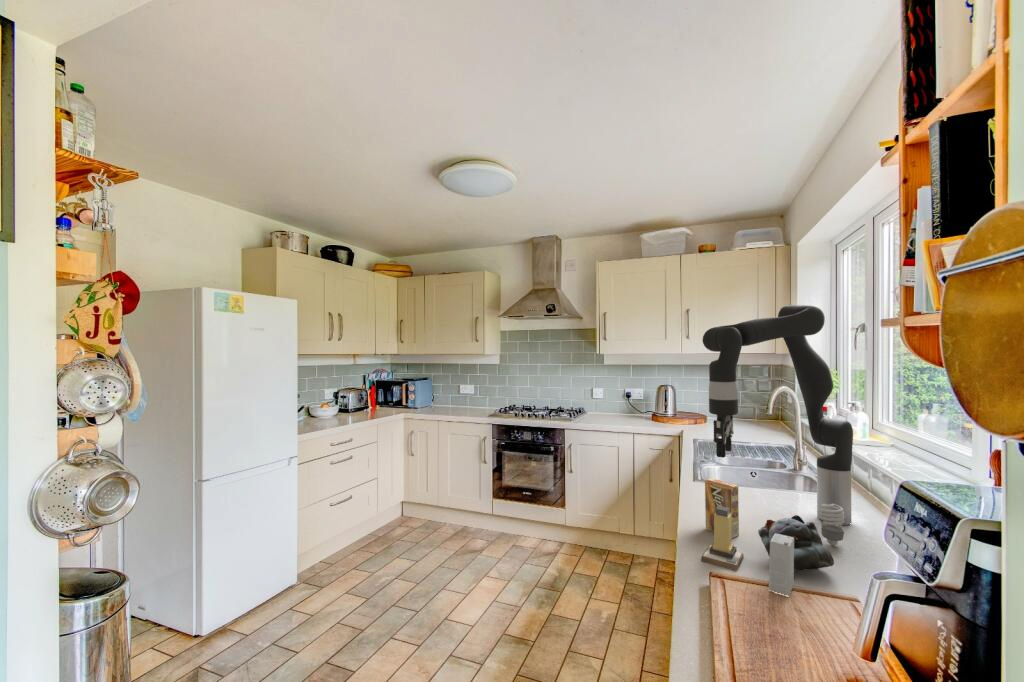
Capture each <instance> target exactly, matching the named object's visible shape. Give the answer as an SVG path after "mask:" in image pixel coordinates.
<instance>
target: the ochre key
mask: <svg viewBox="0 0 1024 682" xmlns="http://www.w3.org/2000/svg"><path fill="white" fill-rule="evenodd" d="M712 545H713V549H714V550H718V551H722V552H726V553H729V554H732V552H733V550H734V547H735V545H734V544H733V543H731V547H730V548H729V550H728V549H724V548H720V547H716V546H714V544H713V543H712Z"/></svg>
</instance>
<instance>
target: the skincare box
mask: <svg viewBox="0 0 1024 682" xmlns="http://www.w3.org/2000/svg"><path fill="white" fill-rule="evenodd" d="M768 557H769V558H768V559H769V562H768V563H769V565H768V566H769V567H768V569H769V570H768V591H769V590H771V591H774V592H777V593H781V594H784V595H788V596H789V595H790V596H791V594H790V593H792V591H793V589H792V587H793V588H794V576H795V575H794V573H795V572H794V538H793V537H790V536H785V535H781V534H776V533H775V534H774V535H773V537H772V539H771V541H770V556H769V555H768ZM791 590H792V591H791ZM790 596H789V597H790Z"/></svg>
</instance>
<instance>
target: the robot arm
mask: <svg viewBox="0 0 1024 682" xmlns="http://www.w3.org/2000/svg"><path fill="white" fill-rule="evenodd" d="M825 321H826V318H825V314H824V312H823V310H822V309H821V308H820V307H817V306H815V305H809V304H807V305H806V304H803V305H802V304H787V305H784V306H782V307H781V308H780V309H779V312H778V315H777V317H765V318H764V317H762V318H755V319H750V320H746V321H741V322H738V323H735V324H729V325H720V326H714V327H711V328H709V329H707V330H706V331H705V332H704V334H703V336H702V343H703V344H702V345H703V346H704V347H705V348H706V349H707V350H708V351H711V352H716V353H717V352H718V353H719V355H718V359H715V360H712V361H711V362H710V363H709V367H708V370H709V371H708V374H709V379H708V380H709V383H708V412H709V413H710V414H712V415H716V420H715V419H714V420H713V422H712V423H713V443H714V444H716V457H718V458H726V455H727V454H726V453H727V452H731V451H732V448H733V447H732V439H733V436H734V416H735V415H736V416H737V415H738V414H739V391H738V383H737V365H738V363H739V358H740V356H741V355H740V354H741V351H742V347H747V346H753V345H756V344H760V343H765V342H768V341H772V340H776V339H782V338H783V341H784V342H785V346H786V347H787V350H788V352H789V356H790V359H791V363H792V364H793V365H792V366H793V368H794V371H795V375H796V379H797V383H798V387H799V389H800V392H801V395H802V398H803V403H804V406H805V410H806V415H807V416H806V417H807V422H808V427H809V432H810V436H811V439H812V440H813V442H814V443H815V444H817V445H820V446H824V447H825V446H826V447H828V448H829V447H831V448H835V451H834V453H832V454H827V455H820V456H818V457H817V458H816V516H817V519H819V520H821V521H822V522H823V521H826V522H836V521H827V520H823V519H821V516H823V515H821V514H820V512H823V511H821V508H823V507H821V505H822V504H827V505H830V504H836V505H838V506H840V507H842V508H843V512H844V519H843V520H844V523H843V524H842V526H848V524H849V525H851V524H852V462H853V461H852V460H853V445H854V444H853V442H854V430H853V426H852V424H851V422H850V421H848V420H843V419H836V418H829V417H825V416H824V414H823V407H824V406H825V403H826V402H827V400H828V398H830V395H831V394H832V392H833V390H834V379H833V377H832V373H831V370H830V366H829V365H828V363H827V362H826V360H825V359H823V358H822V356H821V355H820V354H819V353H818V352H817V351H816V350H815V349H814V348H813V347H812V346H811V344H810V343H809V341H808V339H807V337H806V336H813V335H816V334H818V333H819V332H821V330H822V329H823V328H824V326H825ZM719 437H721V438H719ZM828 509H832V510H836V509H833V508H828ZM840 513H841V512H840ZM833 514H836V513H833ZM833 518H836V517H833ZM850 523H851V524H850Z"/></svg>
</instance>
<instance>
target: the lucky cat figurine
mask: <svg viewBox="0 0 1024 682" xmlns="http://www.w3.org/2000/svg"><path fill="white" fill-rule="evenodd" d="M757 533H758V535H759V537H760V540H761V542H762V545H763V546H764V548H765V551H766V552H767V554H768V557H769V556H770V541H771V539H772V537H773V535H774V534H775V533H776V534H781V535H785V536H790V537H793V538H794V573H795V572H801V571H809V570H817V569H823V568H828V567H833V566H834V565H835V560H834V556H833V555H832V552H831V551H830V550H829V549H828V548H826V546H824V544H823V542H822V538H821V536H820V534H819V532H818V529H817V526H816V523H814V522H813V521H807V522H805V521H804V520H803V519H802V517H801V516H800V515H793V516H791V518H788V517H784V518H781V519H778V520H772V519H767V520H766V523H765V525H764V526H763V527H760V528H759V529H758V532H757Z"/></svg>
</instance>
